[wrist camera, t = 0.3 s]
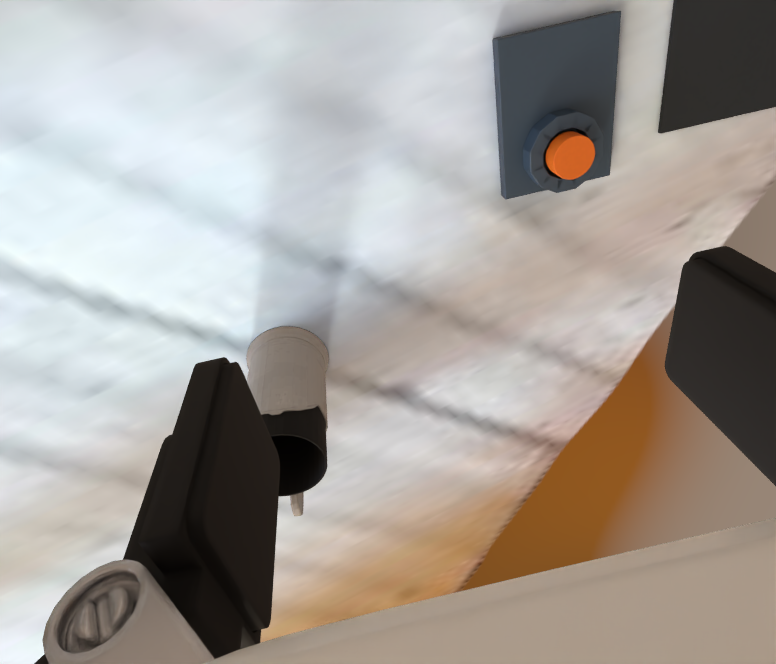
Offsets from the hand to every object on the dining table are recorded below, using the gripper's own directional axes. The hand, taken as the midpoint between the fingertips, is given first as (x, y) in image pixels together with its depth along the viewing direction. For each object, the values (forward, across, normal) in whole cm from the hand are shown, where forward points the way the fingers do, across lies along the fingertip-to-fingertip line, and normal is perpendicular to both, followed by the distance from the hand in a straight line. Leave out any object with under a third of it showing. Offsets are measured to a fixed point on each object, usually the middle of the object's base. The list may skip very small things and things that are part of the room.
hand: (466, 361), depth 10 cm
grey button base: (+36, -17, +4) cm, 40 cm away
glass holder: (+36, +12, +26) cm, 46 cm away
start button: (+33, -17, +7) cm, 38 cm away
